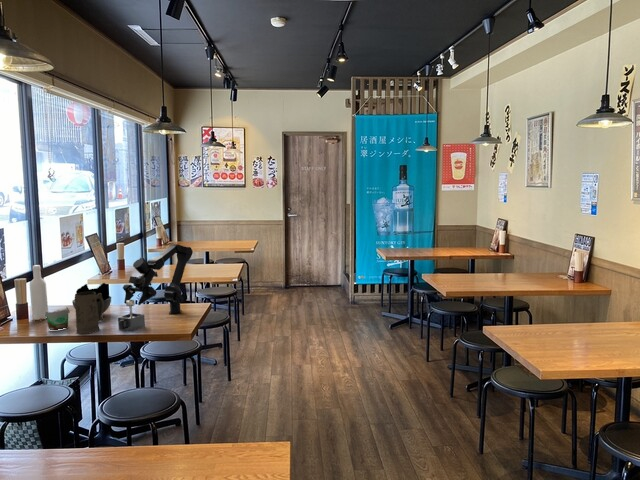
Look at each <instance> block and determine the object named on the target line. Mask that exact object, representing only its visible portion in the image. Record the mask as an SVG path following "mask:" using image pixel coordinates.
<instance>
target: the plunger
mask: <svg viewBox="0 0 640 480" xmlns="http://www.w3.org/2000/svg"><path fill="white" fill-rule="evenodd" d="M125 305H126V307H129V313H130V317H127V318H134V316H132V313H133V307H134V306H135V299H130V300H127V301H126V304H125Z"/></svg>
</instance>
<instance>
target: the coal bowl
mask: <svg viewBox="0 0 640 480" xmlns="http://www.w3.org/2000/svg"><path fill="white" fill-rule="evenodd" d="M88 285H89V284H87V283H85V284H84V285H82V286H80V287H79V288H77V290H76V292H75V294H76V293H81V292H95V293H96V295H98V294H99V293H102V298H103V301H104V310H103V313H102V315H103V314H104V313H106V311H108V309H109V308H110V306H111V303H112V296H111V295H109V285H108V284H107V283H105V282H103V283H102V284H100V285H98V286H97V287H96V288H89V286H88ZM96 300H97V305H98V315H99V310H100V302H99V299H96ZM71 303H72V306H73V308H74V309H75V307H76V303H75V298H74V299H72V302H71Z"/></svg>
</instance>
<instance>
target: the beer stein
mask: <svg viewBox="0 0 640 480" xmlns="http://www.w3.org/2000/svg"><path fill="white" fill-rule="evenodd" d="M74 299H75V303H76V307H75V308H74V310H75V324H76V330H75V331H76V334H78V333H79V334H80V335H88V333H90V334H93V332H94V333H97V332H99V331H100V326H99V325H100V322H103V321H104V318H103V314H104V313H103V310H104V301H103V298H102V293H99V294H98V295H96V293H95V292H81V293H76V292H75V294H74ZM96 299H99V302H100V310H99V315H98V305H97V300H96ZM102 313H103V314H102ZM79 334H78V335H79Z"/></svg>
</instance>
